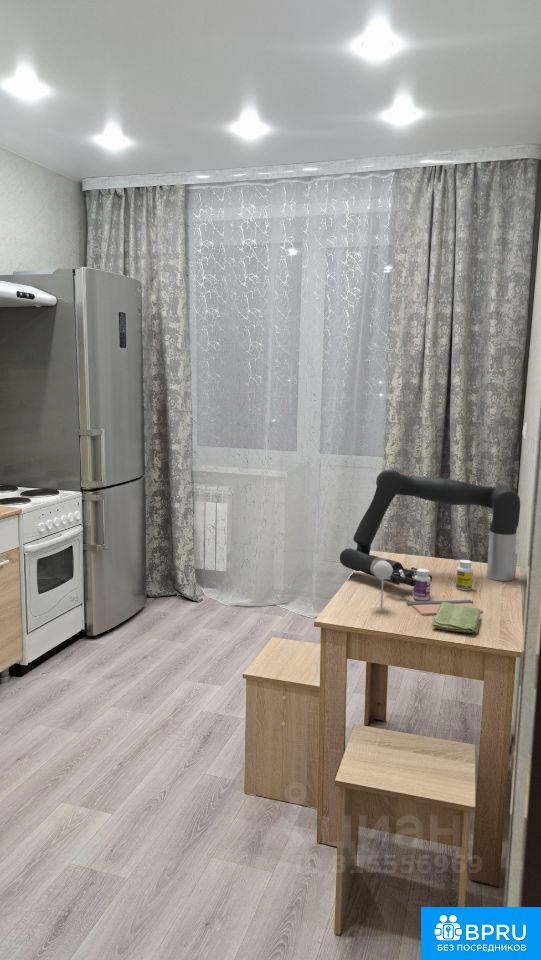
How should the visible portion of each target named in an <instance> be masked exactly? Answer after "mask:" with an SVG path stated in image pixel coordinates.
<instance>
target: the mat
mask: <svg viewBox="0 0 541 960" xmlns="http://www.w3.org/2000/svg"><path fill="white" fill-rule="evenodd" d="M442 602H446V603H451V604H455V605H459V606H467V607H473V608H478V609H480V607H478V606H477V605H475V604H474V601H473V600H471V599H463V600H462V599H461V600H459V599H458V600H435V601H434V600H432V601H431V600H430V601H428V600H425V601H406V605H407V606H408V607H412V608H413V609H414V610H415V611H417V613H419V614H420V615H421V616H436V615H437V612H438V610H439V607H440V605H441V603H442ZM483 613H484V611H483V610H482V609H480V614H483Z"/></svg>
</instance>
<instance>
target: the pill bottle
mask: <svg viewBox="0 0 541 960" xmlns="http://www.w3.org/2000/svg"><path fill="white" fill-rule="evenodd" d="M416 573H417V575H416V576H415V577H414V576H413V578H414V580H415V586H413V592H412V593H413V596H412V597H413V599H415V600H417V601H422V602H425V601H428V600H430V597H431V596H430V595H431V579H430V577H429V576H428V575H430V570H429V569H426V568H417V572H416Z"/></svg>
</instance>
